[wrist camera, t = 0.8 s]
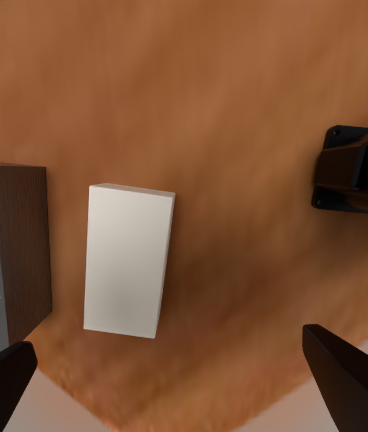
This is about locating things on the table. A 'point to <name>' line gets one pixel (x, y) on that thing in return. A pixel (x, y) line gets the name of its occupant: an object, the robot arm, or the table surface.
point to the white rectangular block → (126, 258)
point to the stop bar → (23, 252)
